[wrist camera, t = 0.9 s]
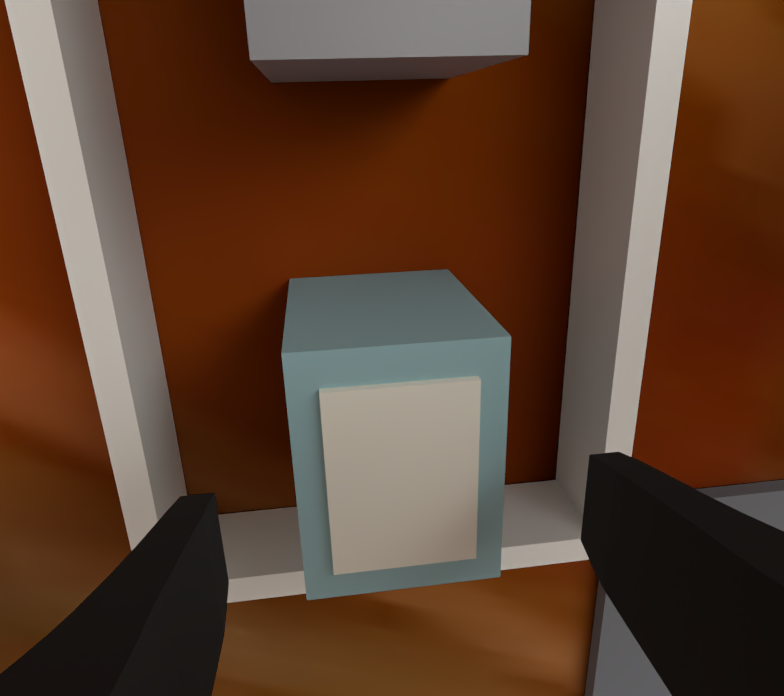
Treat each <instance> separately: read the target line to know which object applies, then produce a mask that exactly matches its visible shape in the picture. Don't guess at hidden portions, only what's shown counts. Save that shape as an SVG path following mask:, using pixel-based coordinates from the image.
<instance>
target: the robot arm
mask: <svg viewBox="0 0 784 696" xmlns="http://www.w3.org/2000/svg"><path fill="white" fill-rule="evenodd" d="M581 542H582V545H583V547H584V549H585V551H586V553H587V556H588V558H589V560H590V562H591V565H592V567H593V569H594V571H595V573H596V575H597V577H598V579H599V581H600V583H601V585H602V587H603V589H604V590H605V592H606V594H607V595H608V597H609V598H610V600H611V602H612V603H613V605H614V606H615V608H616V609H617V611H618V613H619V614H620V616H621V617H622V619H623V621H624V622H625V624H626V625H627V627H628V628H629V630H630V631H631V633H632V635H633V636H634V638H635V639H636V641H637V642H638V644H639V645H640V647H641V648H642V650H643V652H644V653H645V655H646V656H647V658H648V659H649V661H650V662H651V664H652V666H653V667H654V669H655V670H656V672H657V673H658V675H659V676H660V678H661V679H662V681H663V683H664V684H665V686H666V687H667V689H668V690H669V692H670V694H671V695H672V696H784V531H781V530H779V529H777V528H775V527H773V526H770V525H768V524H766V523H764V522H762V521H759V520H757V519H755V518H753V517H751V516H748V515H746V514H744V513H742V512H740V511H738V510H736V509H734V508H732V507H730V506H728V505H726V504H724V503H722V502H720V501H718V500H715V499H713V498H712V497H710V496H708V495H706V494H704V493H702V492H700V491H698V490H696V489H694V488H692V487H690V486H688V485H686V484H684V483H682V482H680V481H678V480H676V479H674V478H672V477H671V476H669V475H667V474H665V473H663V472H661V471H659V470H657V469H655V468H653V467H651V466H649V465H647V464H645V463H643V462H641V461H639V460H637V459H635V458H632V457H630V456H628V455H626V454H623V453H621V452H611V453H601V454H591V455H589V463H588V472H587V482H586V492H585V501H584V511H583V521H582V530H581ZM228 586H229V579H228V573H227V567H226V561H225V555H224V548H223V542H222V536H221V530H220V523H219V517H218V511H217V505H216V499H215V493H206V494H196V495H186V496H180V497H179V498H178V499H177V500H176V501H175V503H174V504H173V505H172V506H171V507H170V508H169V509H168V510H167V511H166V513H165V514H164V515H163V516H162V517H161V518H160V519H159V521H158V522H157V523H156V524H155V525H154V526H153V528H152V529H151V530H150V531H149V532H148V533H147V534H146V536H145V537H144V538H143V539H142V540H141V541H140V542H139V543H138V545H137V546H136V547H135V548H134V549H133V550H132V551H131V552H130V553H129V555H128V556H127V557H126V558H125V559H124V560H123V561H122V562H121V563H120V564H119V565H118V567H117V568H116V569H115V570H114V571H113V572H112V573H111V574H110V575H109V576H108V577H107V578H106V579H105V580H104V581H103V582H102V583H101V584H100V585H99V586H98V587H97V588H96V589H95V590H94V591H93V592H92V593H91V594H90V595H89V596H88V597H87V598H86V599H85V600H84V601H83V602H82V603H81V604H80V605H79V606H78V607H77V608H76V609H75V610H74V611H73V612H72V613H71V614H70V615H69V616H68V617H67V618H66V619H65V620H63V621H62V622H61V623H60V624H59V625H58V626H57V627H56V628H55V629H54V630H52V631H51V632H50V633H49V634H48V635H47V636H46V637H44V638H43V639H42V640H41V641H40V642H39V643H37V644H36V645H35V646H34V647H33V648H31V649H30V650H29V651H28V652H27V653H26V654H24V655H23V656H22V657H21V658H20V659H18V660H17V661H16V662H15V663H14V664H12V665H11V666H10V667H9V668H7V669H6V670H5V671H4V672H2V673H1V674H0V696H211V695H212V690H213V686H214V681H215V676H216V672H217V667H218V662H219V657H220V652H221V648H222V643H223V638H224V631H225V621H226V611H227V598H228Z"/></svg>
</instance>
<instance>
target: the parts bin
mask: <svg viewBox="0 0 784 696" xmlns="http://www.w3.org/2000/svg"><path fill="white" fill-rule="evenodd" d="M692 1H693V0H595V6H594V18H593V30H592V42H591V54H590V67H589V79H588V91H587V103H586V115H585V127H584V140H583V152H582V164H581V176H580V188H579V200H578V213H577V225H576V237H575V249H574V261H573V273H572V286H571V298H570V310H569V322H568V334H567V346H566V359H565V371H564V383H563V395H562V407H561V419H560V432H559V444H558V456H557V468H556V480H549V481H539V482H529V483H520V484H510V485H504V507H503V528H502V550H501V570H506V569H515V568H523V567H531V566H540V565H548V564H556V563H565V562H573V561H582V560H589V558H588V556H587V553H586V551H585V549H584V547H583V545H582V542H581V530H582V521H583V511H584V501H585V492H586V482H587V472H588V463H589V455H591V454H601V453H611V452H621V453H623V454H626V455H628V456H630V457H632V449H633V442H634V434H635V427H636V419H637V412H638V404H639V397H640V389H641V382H642V374H643V367H644V360H645V352H646V345H647V337H648V330H649V322H650V315H651V307H652V300H653V292H654V285H655V277H656V270H657V262H658V255H659V248H660V240H661V233H662V225H663V218H664V210H665V203H666V195H667V188H668V180H669V173H670V165H671V158H672V150H673V143H674V136H675V128H676V121H677V113H678V106H679V98H680V91H681V83H682V76H683V68H684V61H685V53H686V46H687V38H688V31H689V24H690V16H691V9H692ZM5 5H6V9H7V13H8V18H9V22H10V26H11V31H12V35H13V39H14V44H15V48H16V52H17V57H18V61H19V65H20V70H21V74H22V78H23V83H24V87H25V91H26V96H27V100H28V104H29V109H30V113H31V117H32V122H33V126H34V130H35V135H36V139H37V143H38V148H39V152H40V156H41V161H42V165H43V169H44V174H45V178H46V182H47V187H48V191H49V195H50V200H51V204H52V208H53V213H54V217H55V221H56V226H57V230H58V234H59V239H60V243H61V247H62V252H63V256H64V260H65V265H66V269H67V274H68V278H69V282H70V287H71V291H72V295H73V300H74V304H75V308H76V313H77V317H78V321H79V326H80V330H81V334H82V339H83V343H84V347H85V352H86V356H87V360H88V365H89V369H90V373H91V378H92V382H93V386H94V391H95V395H96V399H97V404H98V408H99V412H100V417H101V421H102V425H103V430H104V434H105V438H106V443H107V447H108V451H109V456H110V460H111V464H112V469H113V473H114V477H115V482H116V486H117V490H118V495H119V499H120V503H121V508H122V512H123V516H124V521H125V525H126V529H127V534H128V538H129V542H130V547H131V551H132V550H133V549H134V548H135V547H136V546H137V545H138V543H139V542H140V541H141V540H142V539H143V538H144V537H145V536H146V534H147V533H148V532H149V531H150V530H151V529H152V528H153V526H154V525H155V524H156V523H157V522H158V521H159V519H160V518H161V517H162V516H163V515H164V514H165V513H166V511H167V510H168V509H169V508H170V507H171V506H172V505H173V504H174V503H175V501H176V500H177V499H178V498H179V497H180V496H186V495H187V491H186V485H185V480H184V474H183V469H182V463H181V458H180V452H179V447H178V441H177V436H176V430H175V425H174V419H173V414H172V408H171V403H170V397H169V391H168V386H167V380H166V375H165V369H164V364H163V358H162V353H161V347H160V342H159V336H158V331H157V325H156V320H155V314H154V309H153V303H152V298H151V292H150V287H149V281H148V276H147V270H146V265H145V259H144V254H143V248H142V243H141V237H140V232H139V226H138V220H137V215H136V209H135V204H134V198H133V193H132V187H131V182H130V176H129V171H128V165H127V160H126V154H125V149H124V143H123V138H122V132H121V127H120V121H119V116H118V110H117V105H116V99H115V94H114V88H113V83H112V77H111V72H110V66H109V60H108V55H107V49H106V44H105V38H104V33H103V27H102V22H101V16H100V11H99V5H98V0H5ZM218 517H219V523H220V530H221V536H222V542H223V548H224V555H225V561H226V567H227V573H228V579H229V586H228V598H227V603H231V602H239V601H248V600H256V599H264V598H273V597H281V596H289V595H298V594H306V588H305V578H304V568H303V559H302V549H301V539H300V530H299V520H298V510H297V507H287V508H278V509H268V510H258V511H248V512H239V513H229V514H219V515H218Z"/></svg>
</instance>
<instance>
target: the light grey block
mask: <svg viewBox="0 0 784 696" xmlns="http://www.w3.org/2000/svg"><path fill="white" fill-rule="evenodd" d="M244 7H245V17H246V27H247V36H248V46H249V56H250V61H251V62H252V63H253V64H254V65H255V66H256V67H257V68H258V69H259V70H260V71H261V72H262V73H263V74H264V75H265V77H266V78H267V79H268V80H269V81H270V82H271V83H277V82H319V81H362V80H404V79H447V78H452V77H455V76H459V75H462V74H465V73H469V72H472V71H476V70H479V69H482V68H486V67H489V66H492V65H496V64H499V63H502V62H506V61H509V60H513V59H516V58H519V57H523V56H526V55H528V53H529V32H530V12H531V0H244Z"/></svg>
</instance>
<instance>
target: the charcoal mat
mask: <svg viewBox="0 0 784 696" xmlns="http://www.w3.org/2000/svg"><path fill="white" fill-rule="evenodd" d="M696 490H698V491H700V492H702V493H704V494H706V495H708V496H710V497H712V498H713V499H715V500H718V501H720V502H722V503H724V504H726V505H728V506H730V507H732V508H734V509H736V510H738V511H740V512H742V513H744V514H746V515H748V516H751V517H753V518H755V519H757V520H759V521H762V522H764V523H766V524H768V525H770V526H773V527H775V528H777V529H779V530H781V531H784V480H776V481H766V482H757V483H748V484H739V485H729V486H720V487H711V488H702V489H696ZM585 696H672V695H671V694H670V692H669V690H668V689H667V687H666V686H665V684H664V683H663V681H662V679H661V678H660V676H659V675H658V673H657V672H656V670H655V669H654V667H653V666H652V664H651V662H650V661H649V659H648V658H647V656H646V655H645V653H644V652H643V650H642V648H641V647H640V645H639V644H638V642H637V641H636V639H635V638H634V636H633V635H632V633H631V631H630V630H629V628H628V627H627V625H626V624H625V622H624V621H623V619H622V617H621V616H620V614H619V613H618V611H617V609H616V608H615V606H614V605H613V603H612V602H611V600H610V598H609V597H608V595H607V594H606V592H605V590H604V589H603V587H602V585H601V583H600V581H598V590H597V598H596V606H595V614H594V623H593V631H592V639H591V647H590V655H589V664H588V672H587V680H586V688H585Z"/></svg>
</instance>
